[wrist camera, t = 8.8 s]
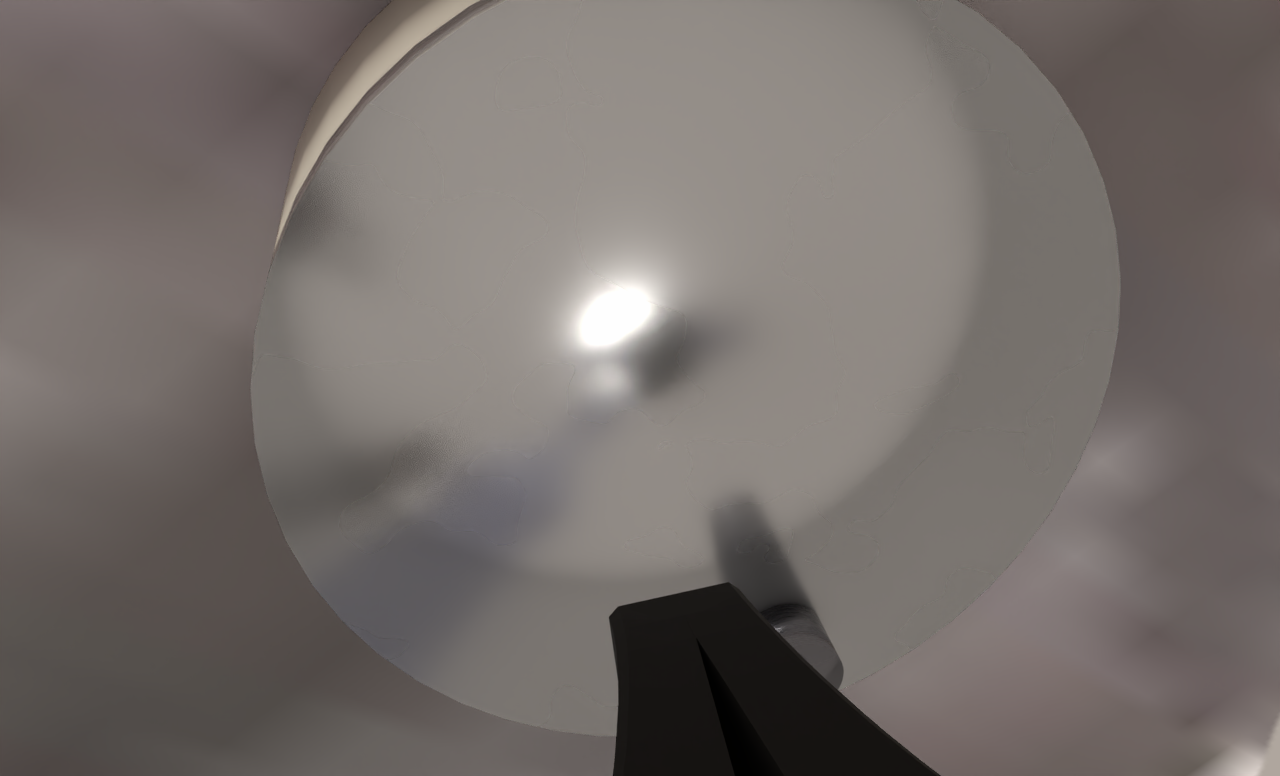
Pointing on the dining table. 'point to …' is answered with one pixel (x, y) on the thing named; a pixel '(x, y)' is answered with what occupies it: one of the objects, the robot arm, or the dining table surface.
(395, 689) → the dining table surface
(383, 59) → the pot
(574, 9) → the lid
